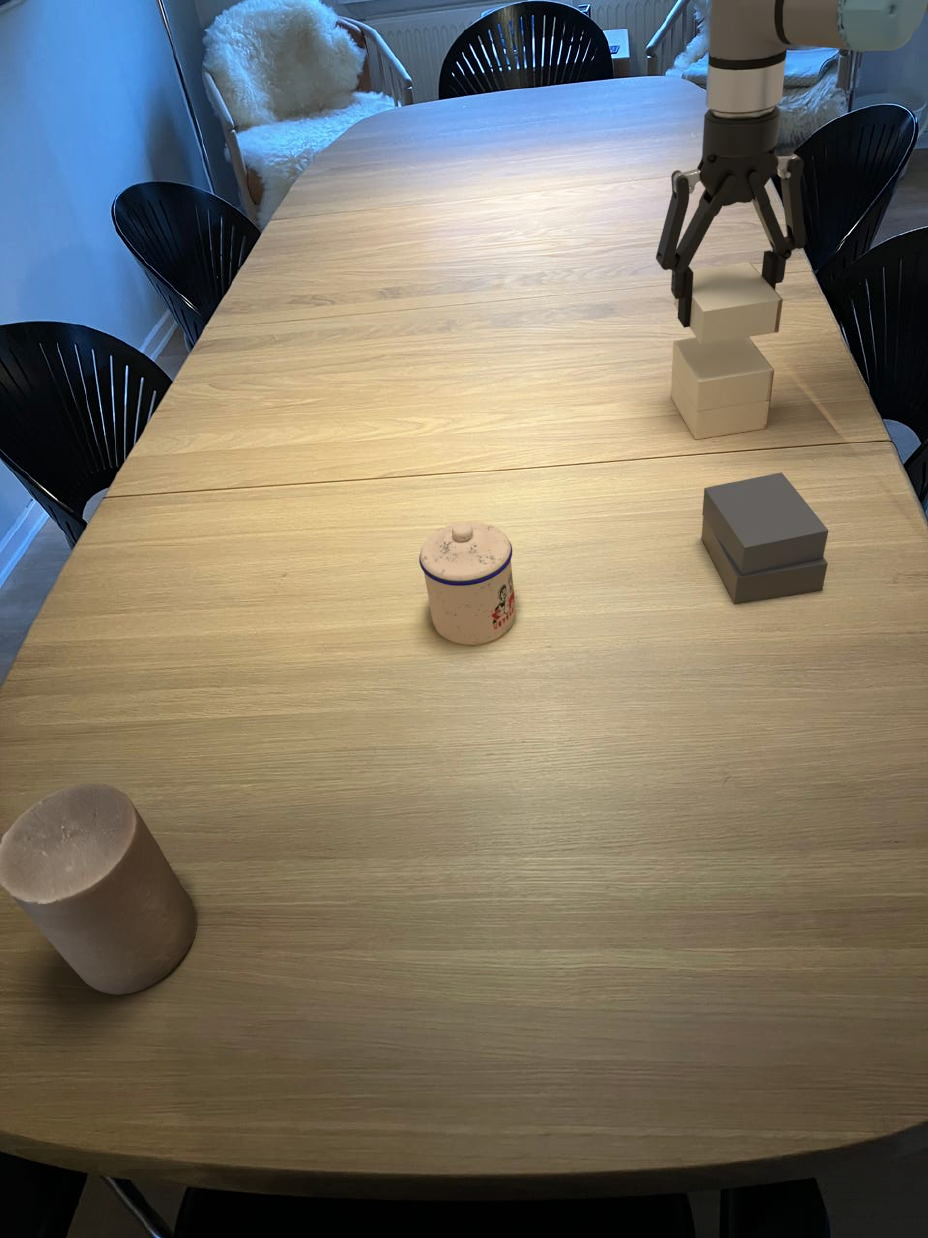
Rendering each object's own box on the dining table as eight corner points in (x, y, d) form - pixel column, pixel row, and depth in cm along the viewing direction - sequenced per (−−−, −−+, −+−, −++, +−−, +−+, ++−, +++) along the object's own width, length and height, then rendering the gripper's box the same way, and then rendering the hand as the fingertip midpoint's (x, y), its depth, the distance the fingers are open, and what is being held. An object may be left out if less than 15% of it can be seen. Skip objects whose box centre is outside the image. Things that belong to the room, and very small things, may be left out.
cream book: (746, 293, 114) (749, 261, 111) (778, 332, 106) (783, 298, 103) (673, 304, 114) (675, 272, 111) (700, 344, 106) (703, 310, 103)
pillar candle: (200, 871, 76) (137, 758, 66) (193, 983, 69) (121, 875, 59) (83, 895, 76) (2, 784, 66) (64, 1010, 69) (-31, 905, 59)
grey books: (781, 524, 101) (790, 470, 96) (822, 590, 92) (833, 535, 88) (698, 537, 101) (702, 484, 96) (731, 604, 92) (737, 550, 88)
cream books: (737, 385, 123) (743, 329, 117) (767, 428, 115) (774, 369, 109) (670, 396, 123) (673, 340, 117) (694, 439, 115) (698, 381, 109)
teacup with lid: (514, 649, 91) (504, 558, 83) (424, 647, 93) (406, 558, 85) (524, 570, 100) (516, 481, 92) (442, 570, 101) (427, 482, 94)
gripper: (832, 82, 97) (802, 288, 113) (628, 113, 97) (626, 316, 112) (862, 100, 92) (827, 315, 107) (646, 133, 92) (642, 344, 107)
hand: (724, 315), depth 110 cm, fingers closed on cream book, 9 cm apart
